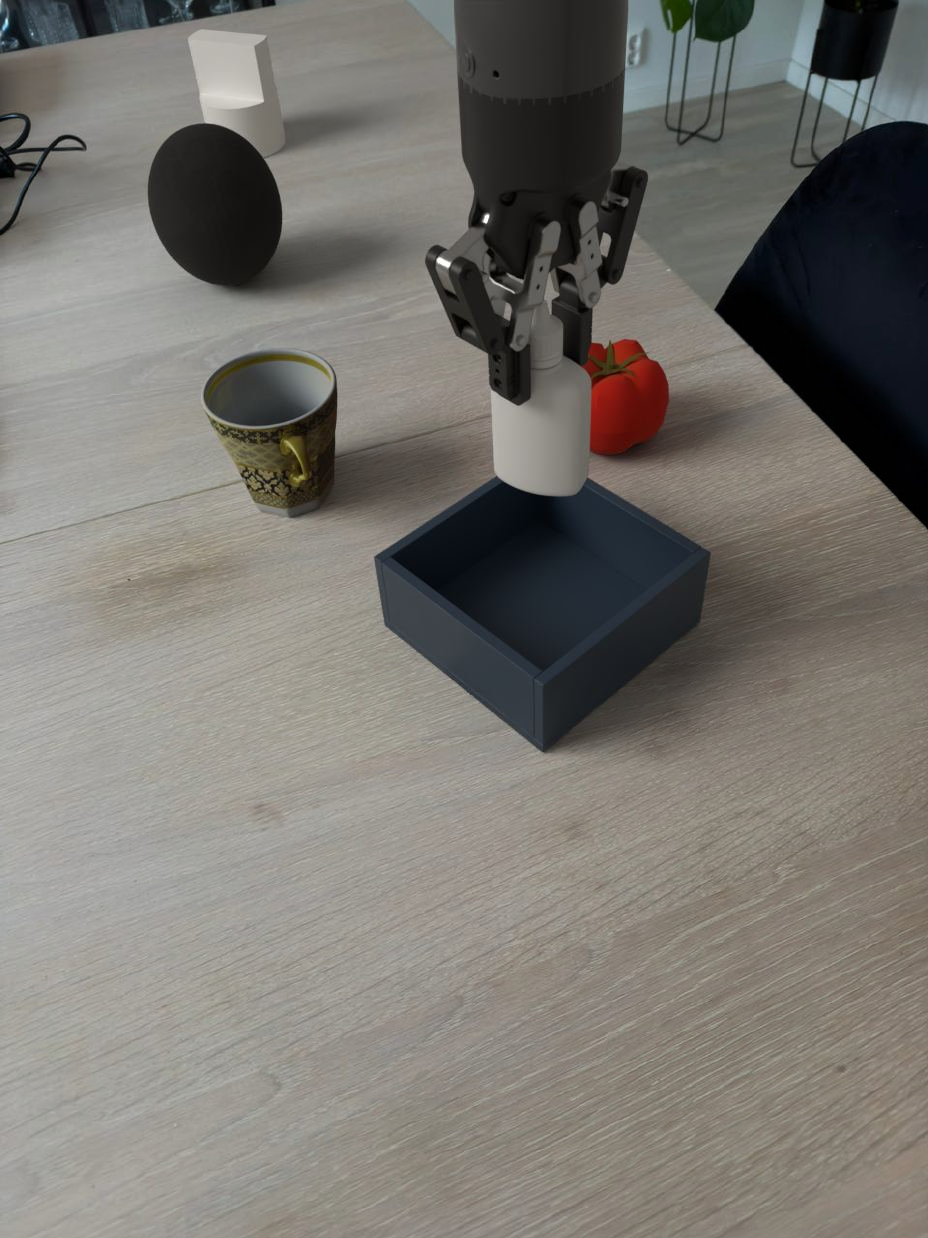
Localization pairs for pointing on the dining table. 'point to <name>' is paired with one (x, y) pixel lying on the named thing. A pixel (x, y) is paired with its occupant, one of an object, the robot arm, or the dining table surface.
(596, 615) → the bin
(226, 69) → the base with upright slab
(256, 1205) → the dining table surface
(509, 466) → the eye dropper bottle
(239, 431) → the ceramic cup
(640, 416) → the tomato
